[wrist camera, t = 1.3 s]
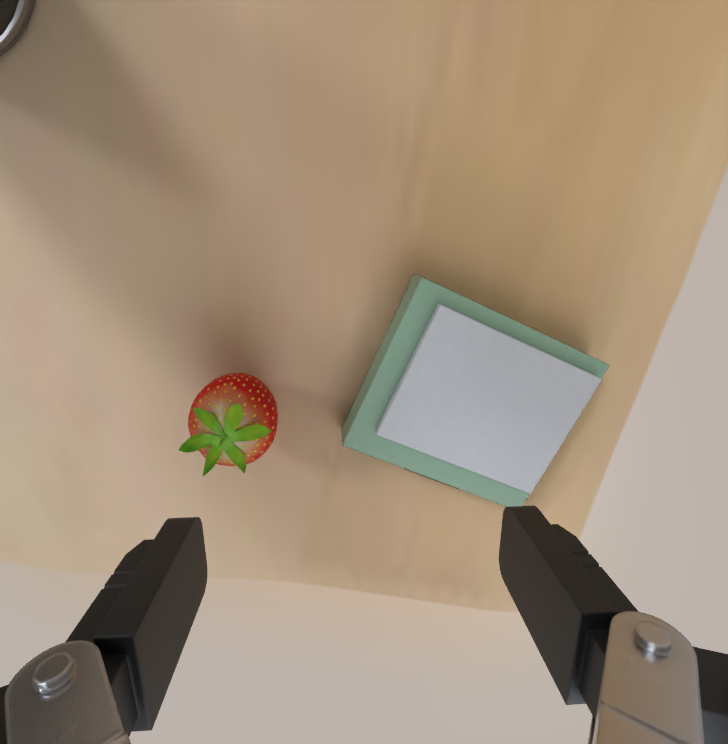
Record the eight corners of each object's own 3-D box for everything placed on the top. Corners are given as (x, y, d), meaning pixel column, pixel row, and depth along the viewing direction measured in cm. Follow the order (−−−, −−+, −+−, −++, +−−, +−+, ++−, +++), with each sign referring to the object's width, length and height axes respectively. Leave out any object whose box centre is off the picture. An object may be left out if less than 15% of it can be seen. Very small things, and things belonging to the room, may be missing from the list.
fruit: (289, 427, 30) (275, 489, 23) (215, 432, 30) (176, 498, 23) (281, 354, 29) (263, 395, 21) (203, 359, 29) (156, 402, 21)
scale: (339, 432, 31) (340, 453, 28) (414, 273, 28) (424, 277, 25) (504, 494, 34) (521, 519, 31) (588, 355, 31) (616, 367, 28)
